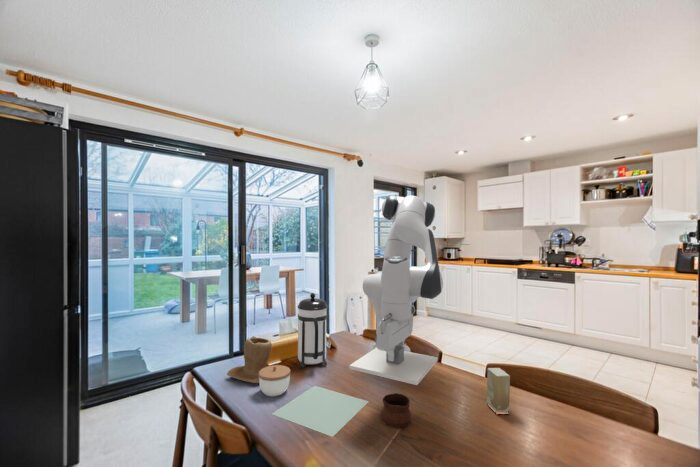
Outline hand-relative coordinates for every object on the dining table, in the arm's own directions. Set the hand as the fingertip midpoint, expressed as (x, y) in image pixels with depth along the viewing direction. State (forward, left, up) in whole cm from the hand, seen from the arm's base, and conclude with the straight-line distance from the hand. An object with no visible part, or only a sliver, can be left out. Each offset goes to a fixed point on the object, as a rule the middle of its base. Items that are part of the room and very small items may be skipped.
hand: (395, 357), depth 96 cm
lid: (0, 0, -2) cm, 2 cm away
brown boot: (+1, -58, -19) cm, 61 cm away
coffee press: (-22, -46, -19) cm, 54 cm away
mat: (+6, -22, -19) cm, 29 cm away
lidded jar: (+6, -42, -19) cm, 46 cm away
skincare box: (-22, +26, -19) cm, 39 cm away
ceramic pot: (0, +1, -19) cm, 19 cm away
